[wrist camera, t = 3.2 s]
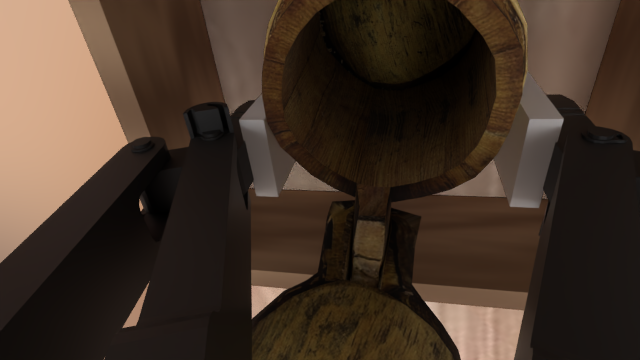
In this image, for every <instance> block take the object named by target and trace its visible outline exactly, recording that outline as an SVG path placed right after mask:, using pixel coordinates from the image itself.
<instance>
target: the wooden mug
mask: <svg viewBox="0 0 640 360" xmlns="http://www.w3.org/2000/svg"><path fill="white" fill-rule="evenodd" d="M526 75H527V23H526V20H525V18H524V15H523V13H522V11H521V8H520V6H519V3H518V1H517V0H278V2H277V5H276V7H275V9H274V12H273V14H272V17H271V19H270V21H269V24H268V27H267V34H266V41H265V47H264V63H263V71H262V99H263V104H264V110H265V116H266V121H267V124H268V126H269V128H270V129H271V131H272V133H273V135H274V137H275V138H276V140H277V142H278V144H279V146H280V147H281V148H282V149H283V150H284V151H285V152H286V153H288V154H289V155H290V156H291V157H292V158H293V159H294V160H295V161H297V162H298V163H299V164H300V165H301V166H302V167H303V168H304V169H306V170H307V171H308V172H309V173H310V174H311V175H313V176H314V177H316V178H318V179H319V180H321V181H323V182H325V183H326V184H328V185H330V186H331V187H333V188H335V189H337V190H339V191H342V192H344V193H346V194H348V195H351V196H353V197H355V200H348V201H333V202H332V203H331V206H330V209H329V212H328V215H327V220H326V227H325V233H324V239H323V244H322V250H321V256H320V262H319V268H318V272H317V273H316V274H314V275H313V276H311V277H310V278H309V279H307V280H306V281H304V282H302V283H299V284H297V285H295V286H293V287H291V288H289V289H287V290H285V291H283V292H282V293H281V294H280V295H279V296H278V297H277V298H275V299H274V300H273V301H272V302H271V303H270V304H269V305H267V306H266V307H265V308H264V309H263V310H262V311H260V312H259V313H258V314H257V315H256V316H255V317H254V318H252V360H461V359H460V355H459V351H458V349H457V347H456V345H455V344H454V342H453V341H452V339H451V337H450V336H449V334H448V333H447V331H446V329H445V328H444V326H443V325H442V323H441V322H440V321H439V319H438V318H437V317H436V316H435V314H434V313H433V312H432V311H431V309H430V308H429V307H428V306H427V304H426V303H425V302H424V300H423V299H422V298H421V296H420V295H419V293H418V292H417V291H416V289H415V288H414V286H413V285H412V278H413V266H414V254H415V245H416V240H417V235H418V230H419V226H420V221H421V216H418V215H415V214H411V213H408V212H405V211H401V210H398V209H395V208H391V203H392V202H398V201H404V200H409V199H415V198H421V197H425V196H429V195H432V194H436V193H440V192H443V191H447V190H450V189H452V188H455V187H457V186H459V185H461V184H463V183H465V182H467V181H469V180H471V179H473V178H475V177H476V176H477V175H478V174H479V173H480V172H481V171H482V170H483V169H484V168H485V167H486V166H487V165H488V164H489V162H490V161H491V160H492V159H493V158H494V157H495V156H496V155H497V154H498V152H499V150H500V148H501V147H502V145H503V143H504V141H505V140H506V138H507V136H508V134H509V132H510V130H511V127H512V124H513V121H514V118H515V115H516V113H517V111H518V108H519V104H520V101H521V98H522V95H523V88H524V84H525V80H526Z"/></svg>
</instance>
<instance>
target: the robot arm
mask: <svg viewBox="0 0 640 360" xmlns="http://www.w3.org/2000/svg"><path fill="white" fill-rule="evenodd" d="M183 116H184V119H185V122H186V126H187V129H188V132H189V135H190V138H191V140H190V143H189V146H188V147H184V148H178V149H171V150H168V148H167V145H166V142H165V140H164V139H163V138H161V137H141V138H138V139H135V140H134V141H133V142H130V143H128V144H127V145H125V146H124V147H123V148H122V149H120V151H118V152H117V153H116V154H115V155H114V156H113V157H112V158H111V159H110V160H109V161H108V162H107V163H106V164H105V165H104V166H103V167H102V168H100V169H99V170H98V171H97V172H96V173H95V174H94V175H93V176H92V177H91V178H90V179H89V180H88V181H87V182H86V183H85V184H84V185H82V186H81V187H80V188H79V189H78V190H77V191H76V192H75V193H74V194H73V195H72V196H71V197H70V198H69V199H68V200H67V201H66V202H65V203H63V204H62V206H60V207H59V208H58V209H57V210H56V211H55V212H54V213H53V214H52V215H51V216H50V217H49V218H48V219H47V220H46V221H45V222H43V224H41V225H40V226H39V227H38V228H37V229H36V230H35V231H34V232H33V233H32V234H31V235H30V236H29V237H28V238H27V239H26V240H24V241H23V242H22V244H20V245H19V246H18V247H17V248H16V249H15V250H14V251H13V252H12V253H11V254H10V255H9V256H8V257H6V259H4V260H3V261H2V262H1V263H0V360H252V303H251V200H250V196H249V192H248V189H249V187H250V186H251V184H252V182H253V184H254V188H255V192H256V196H268V197H279V194H280V192H281V190H282V188H283V186H284V184H285V182H286V180H287V178H288V176H289V174H290V172H291V169H292V167H293V165H294V163H295V160H294V159H293V158H292V157H291V156H290V155H289V154H288V153H286V152H285V151H284V150H283V149H282V148H281V147H280V146H279V144H278V142H277V140H276V138H275V137H274V135H273V133H272V131H271V129H270V128H269V126H268V124H267V121H266V116H265V110H264V104H263V99H262V94H261V95H260V96H259V97H258V98H257V99H256V100H250V101H248V102H246V103H244V104H242V105H240V106H239V107H238V108H237V109H236V110H235V112H234V113H233V114H232V115H231V116H230V113H229V109H228V106H227V104H225V103H223V102H207V103H202V104H198V105H195V106H192V107H190V108H189V109H187V110H186V111H185V112H184V113H183ZM494 161H495V164H496V167H497V170H498V173H499V176H500V179H501V182H502V185H503V188H504V191H505V194H506V197H507V200H508V203H509V206H510V207H527V208H539V206H540V203H541V199H542V196H543V192H545V194H546V196H547V198H548V204H547V207H546V211H545V214H544V218H543V221H542V224H541V228H540V231H539V236H540V238H539V243H538V248H537V252H536V257H535V262H534V267H533V272H532V276H531V281H530V286H529V291H528V296H527V300H526V305H525V310H524V315H523V320H522V324H521V329H520V334H519V339H518V344H517V348H516V353H515V358H514V360H640V151H636V150H633V143H632V141H631V139H630V137H628V136H627V135H625V134H624V133H622V132H619V131H616V130H613V129H610V128H605V127H600V126H595V125H594V123H593V122H592V121H591V120H590V119H589V118H588V117H587V116H586V115H585V113H584V112H583V111H582V110H581V109H580V108H579V106H578V105H577V104H576V103H575V102H574V101H573V100H571V99H569V98H567V97H565V96H563V95H545V93H544V92H543V91H542V89H541V88H540V87H539V85H538V84H537V83H536V81H535V80H534V79H533V77H532V76H531V75H530V73H529V72H528V71H527V75H526V80H525V84H524V88H523V95H522V98H521V101H520V104H519V108H518V111H517V113H516V115H515V118H514V121H513V124H512V127H511V130H510V132H509V134H508V136H507V138H506V140H505V141H504V143H503V145H502V147H501V148H500V150H499V152H498V154H497V155H496V156H495V157H494ZM139 199H140V201H141V203H142V205H143V209H142V211H140V208H139ZM149 281H150V282H149ZM148 283H149V286H148V289H147V293H146V296H145V300H144V303H143V306H142V310H141V313H140V317H139V320H138V322H137V325H136V326H132V327H127V328H122V327H123V325H124V323H125V322H126V320H127V318H128V317H129V315H130V313H131V311H132V310H133V308H134V307H135V305H136V303H137V301H138V300H139V298H140V296H141V295H142V293H143V291H144V289H145V288H146V286H147V284H148ZM104 358H105V359H104Z"/></svg>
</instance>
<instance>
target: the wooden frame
mask: <svg viewBox="0 0 640 360" xmlns="http://www.w3.org/2000/svg"><path fill="white" fill-rule="evenodd" d="M69 3H70V5H71V8H72V10H73V12H74V15H75V17H76V19H77V22H78V24H79V27H80V29H81V31H82V34H83V36H84V39H85V41H86V43H87V46H88V48H89V51H90V53H91V55H92V57H93V60H94V62H95V65H96V67H97V70H98V72H99V74H100V77H101V79H102V81H103V84H104V86H105V89H106V91H107V93H108V96H109V98H110V101H111V103H112V105H113V108H114V110H115V112H116V115H117V117H118V119H119V122H120V124H121V127H122V129H123V132H124V134H125V136H126V138H127V141H128V143H130V142H133V141H134V140H135V139H138V138H141V137H161V138H163V139H164V140H165V142H166V145H167V148H168V150H171V149H178V148H184V147H188V146H189V143H190V140H191V138H190V135H189V132H188V129H187V126H186V122H185V119H184V116H183V113H184V112H185V111H186V110H187V109H189V108H190V107H192V106H195V105H198V104H202V103H207V102H223V103H225V102H224V98H223V94H222V90H221V86H220V82H219V78H218V74H217V69H216V65H215V61H214V57H213V53H212V49H211V45H210V41H209V37H208V33H207V29H206V25H205V21H204V17H203V12H202V8H201V4H200V0H69ZM585 115H586V116H587V117H588V118H589V119H590V120H591V121H592V122H593V123H594V125H595V126H600V127H605V128H610V129H613V130H616V131H619V132H622V133H624V134H625V135H627V136H628V137H630V139H631V141H632V143H633V150H636V151H640V0H621V2H620V6H619V9H618V12H617V15H616V18H615V21H614V25H613V28H612V31H611V34H610V37H609V41H608V44H607V47H606V50H605V53H604V56H603V60H602V63H601V66H600V69H599V72H598V75H597V79H596V82H595V85H594V88H593V91H592V95H591V98H590V101H589V104H588V107H587V110H586V114H585ZM248 192H249V196H250V200H251V285H253V286H264V287H275V288H286V289H289V288H291V287H293V286H295V285H297V284H299V283H302V282H304V281H306V280H307V279H309V278H310V277H311V276H313V275H314V274H316V273H317V272H318V268H319V262H320V256H321V250H322V244H323V239H324V233H325V227H326V220H327V215H328V212H329V209H330V206H331V203H332V202H333V201H348V200H355V197H353V196H351V195H348V194H346V193H344V192H327V191H299V190H281V192H280V194H279V197H268V196H256V192H255V189H248ZM547 204H548V199H541V203H540V206H539V208H527V207H510V206H509V203H508V200H507V198H495V197H467V196H439V195H429V196H425V197H421V198H415V199H409V200H404V201H398V202H392V203H391V208H395V209H398V210H401V211H405V212H408V213H411V214H415V215H418V216H421V221H420V226H419V230H418V235H417V240H416V245H415V254H414V266H413V278H412V285H413V286H414V288H415V289H416V291H417V292H418V293H419V295H420V296H421V298H422V299H423V300H424V301H428V302H438V303H449V304H460V305H471V306H482V307H493V308H504V309H515V310H525V305H526V300H527V296H528V291H529V286H530V281H531V276H532V272H533V267H534V262H535V257H536V252H537V248H538V243H539V238H540V236H539V231H540V228H541V224H542V221H543V218H544V214H545V211H546V207H547Z"/></svg>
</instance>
